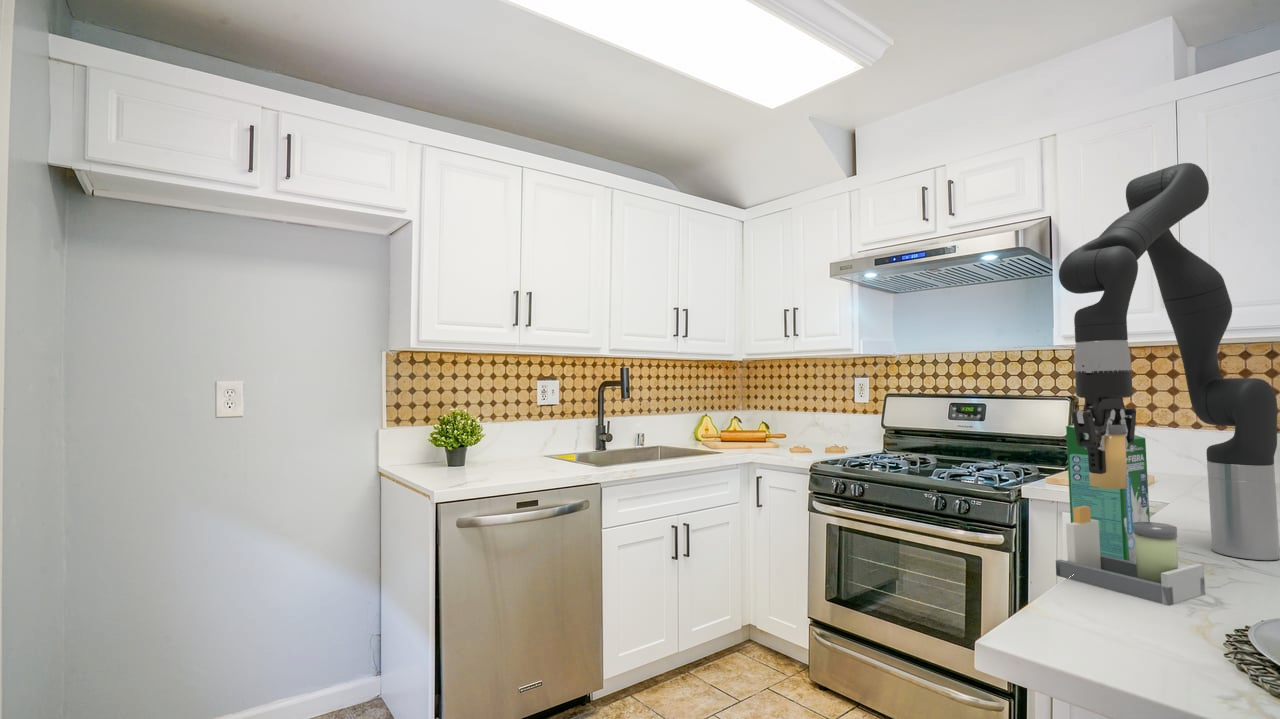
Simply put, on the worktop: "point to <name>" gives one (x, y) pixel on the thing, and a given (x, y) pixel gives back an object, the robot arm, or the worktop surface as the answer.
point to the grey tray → (1137, 580)
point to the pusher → (1083, 539)
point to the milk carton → (1111, 497)
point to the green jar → (1155, 549)
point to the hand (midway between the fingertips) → (1107, 471)
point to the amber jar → (1113, 460)
